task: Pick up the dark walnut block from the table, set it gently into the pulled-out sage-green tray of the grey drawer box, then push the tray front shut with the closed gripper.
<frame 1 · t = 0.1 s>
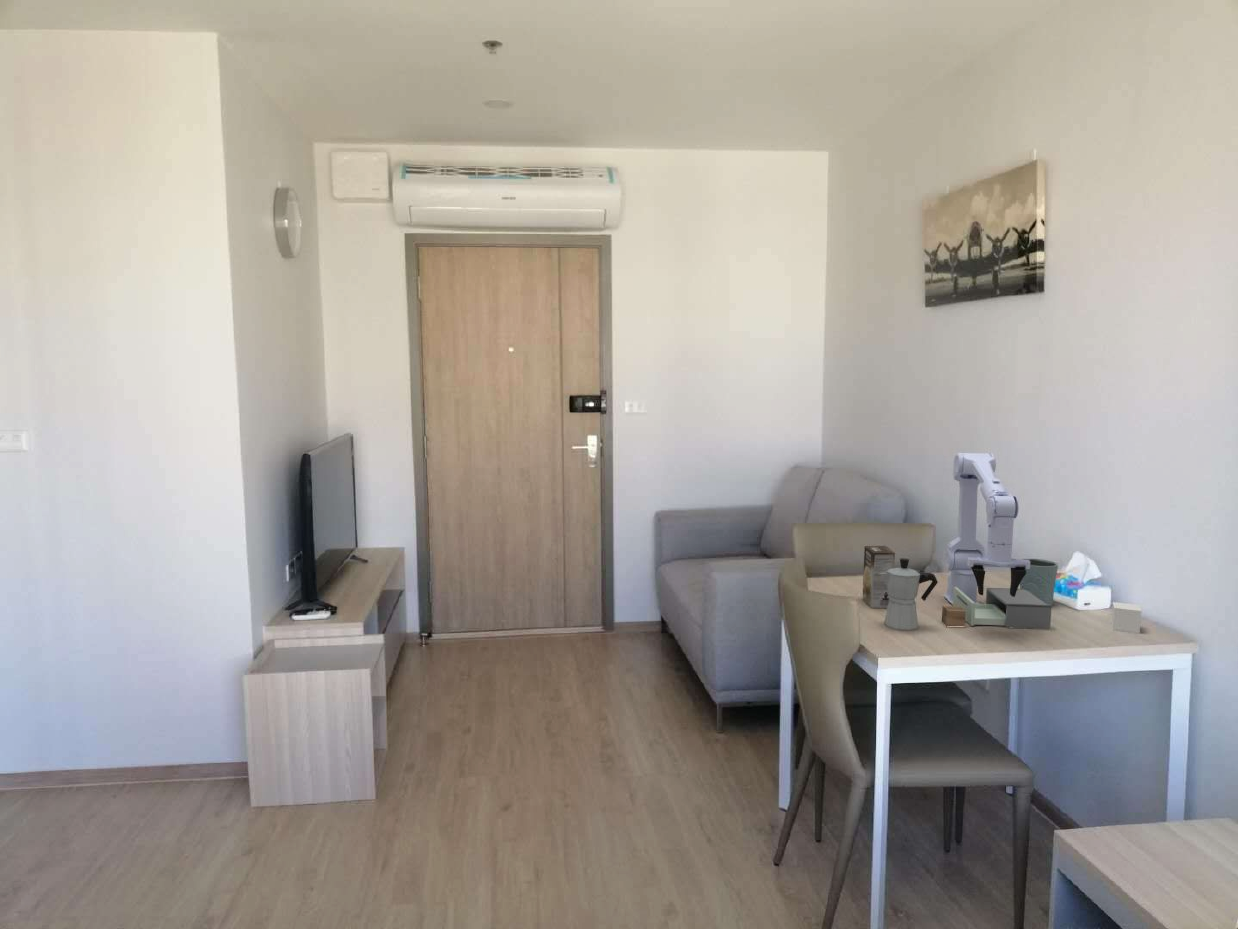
hand: (996, 594, 213), 10 cm above the table, tool pointing down, fingers open, 7 cm apart
walnut block: (953, 624, 221), on the table
beige cube: (1124, 629, 218), on the table
grey drawer box: (1014, 619, 226), on the table
coffee maker: (905, 626, 219), on the table
coffee box: (877, 604, 240), on the table
green plant pot: (1035, 603, 241), on the table
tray: (982, 606, 226), point 3 cm above the table, slide at 8.0 cm
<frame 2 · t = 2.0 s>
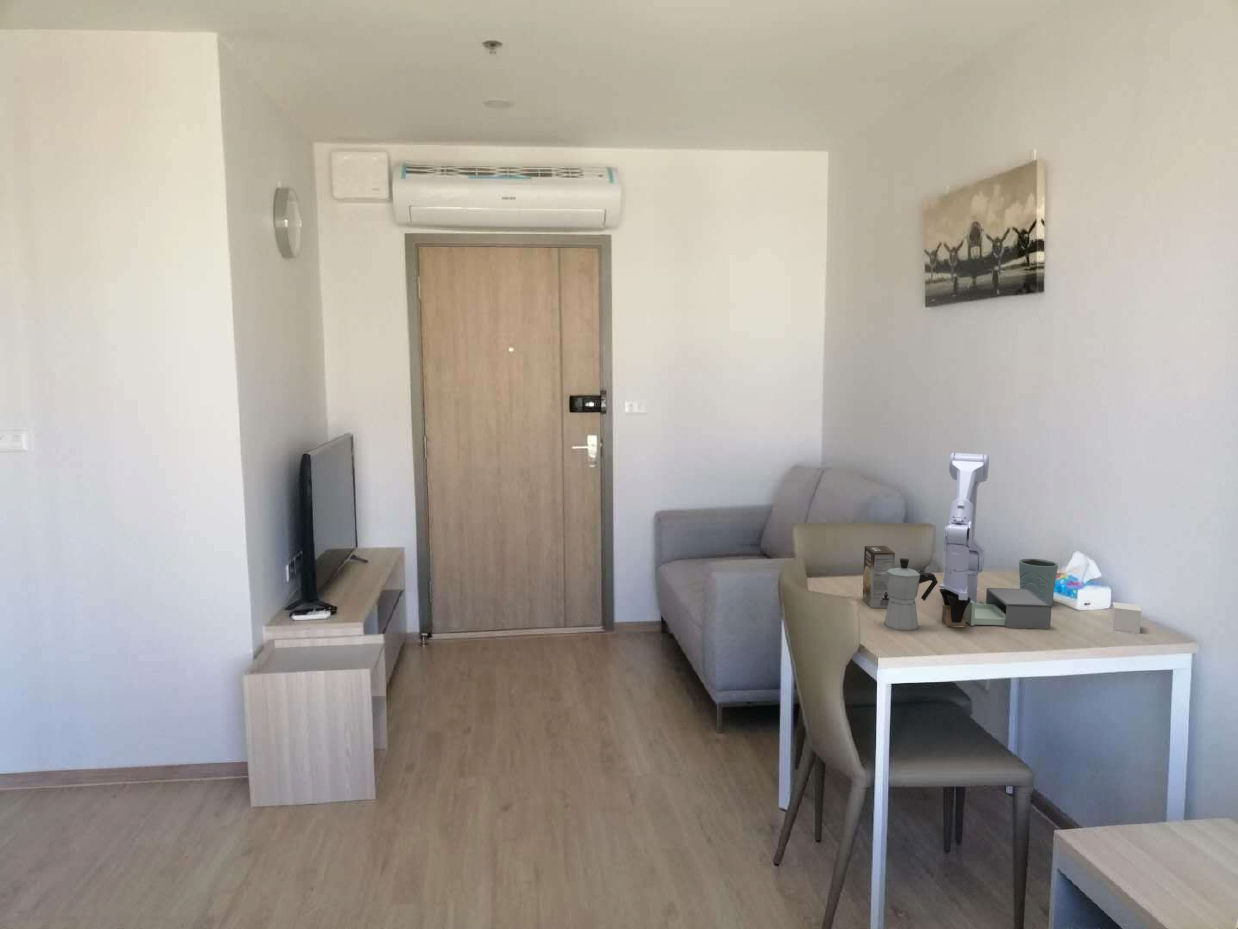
hand: (953, 619, 221), 1 cm above the table, tool pointing down, fingers closed on walnut block, 5 cm apart
walnut block: (953, 624, 221), on the table, touching gripper
everything else where it was.
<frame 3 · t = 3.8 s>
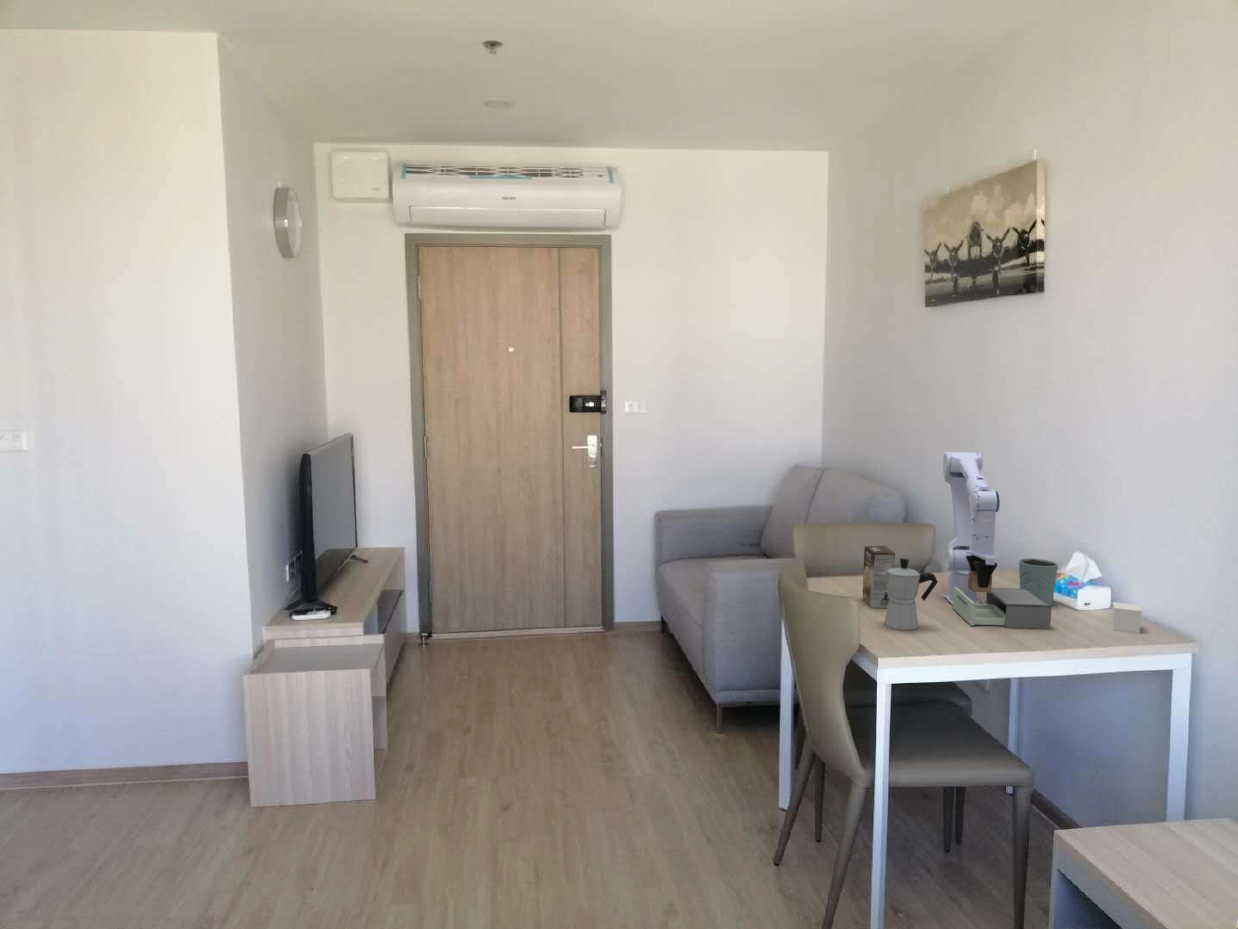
hand: (979, 584, 225), 9 cm above the table, tool pointing down, fingers closed on walnut block, 5 cm apart
walnut block: (979, 590, 225), point 8 cm above the table, touching gripper
everything else where it was.
when the fingers open (3 cm above the table, at t = 5.6 s): walnut block stays where it is, resting on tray.
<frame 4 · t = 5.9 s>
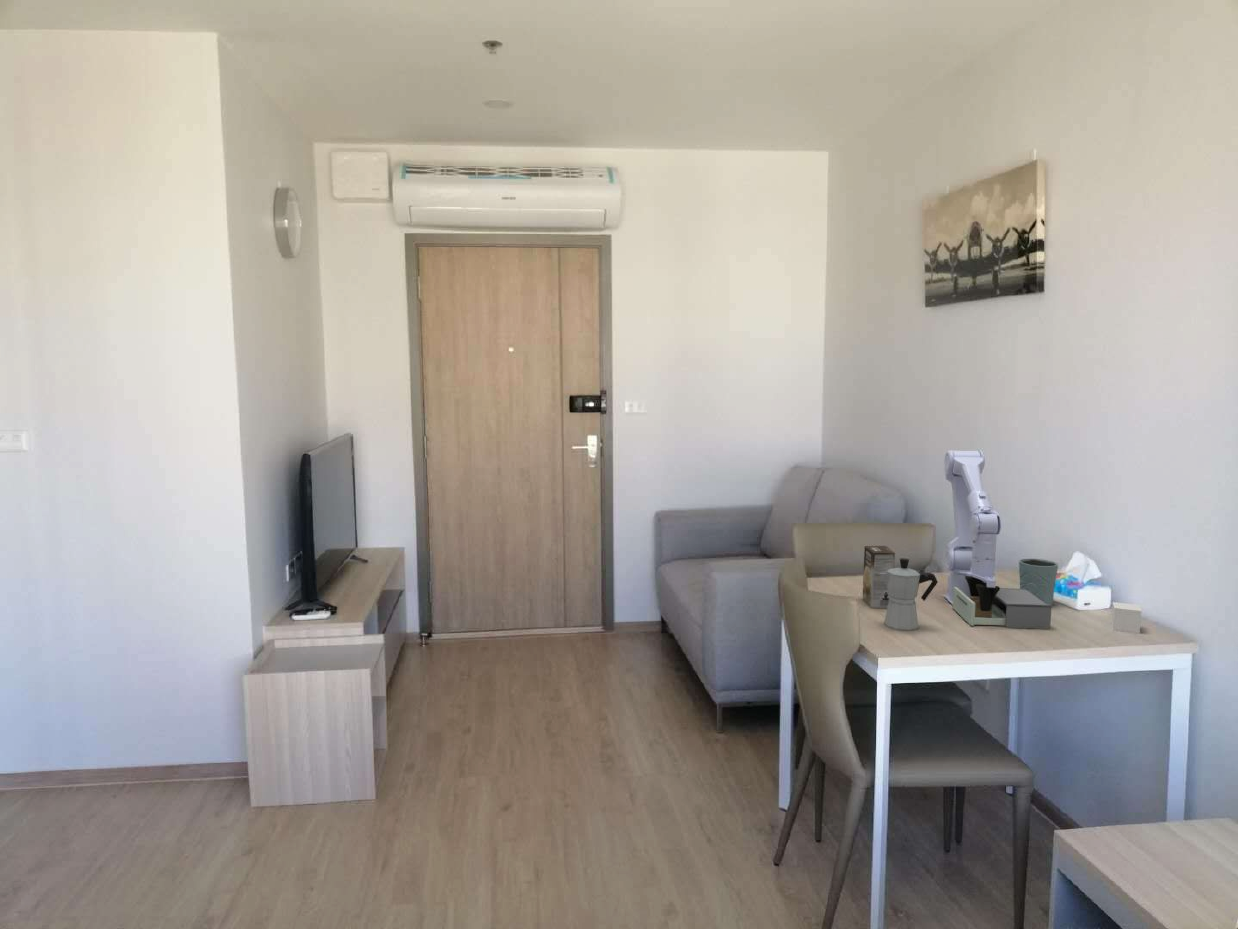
hand: (980, 606, 226), 3 cm above the table, tool pointing down, fingers open, 7 cm apart
walnut block: (979, 615, 226), point 1 cm above the table, touching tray
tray: (982, 606, 226), point 3 cm above the table, slide at 8.0 cm, touching walnut block
everything else where it was.
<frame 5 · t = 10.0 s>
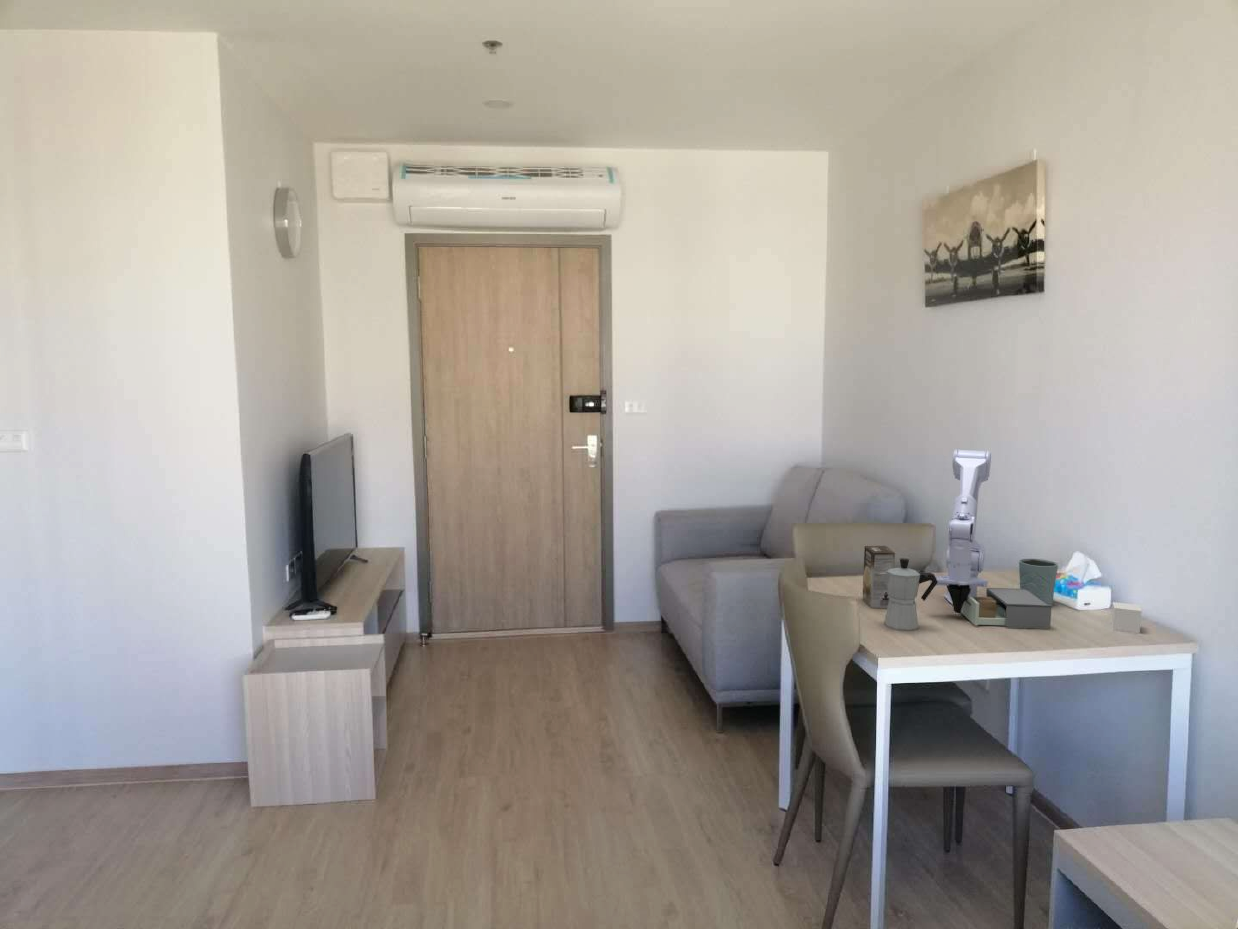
hand: (957, 611, 227), 1 cm above the table, tool pointing down, fingers closed
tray: (986, 606, 226), point 3 cm above the table, slide at 7.0 cm, touching gripper, walnut block
everything else where it was.
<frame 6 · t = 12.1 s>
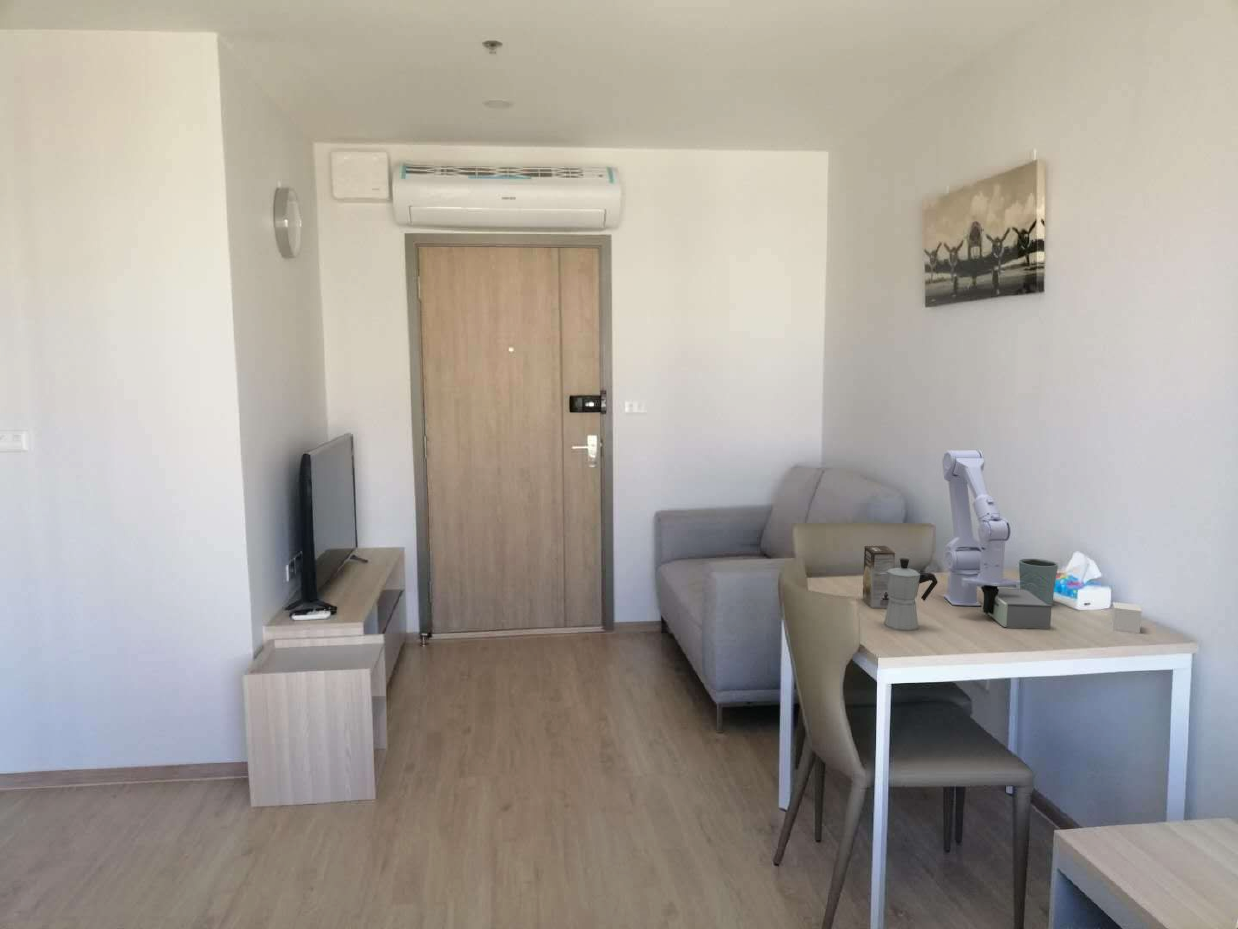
hand: (988, 612, 226), 1 cm above the table, tool pointing down, fingers closed, pressing on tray
walnut block: (1010, 616, 226), point 1 cm above the table, touching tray
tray: (1013, 607, 225), point 3 cm above the table, slide at -0.1 cm, touching gripper, grey drawer box, walnut block
everything else where it was.
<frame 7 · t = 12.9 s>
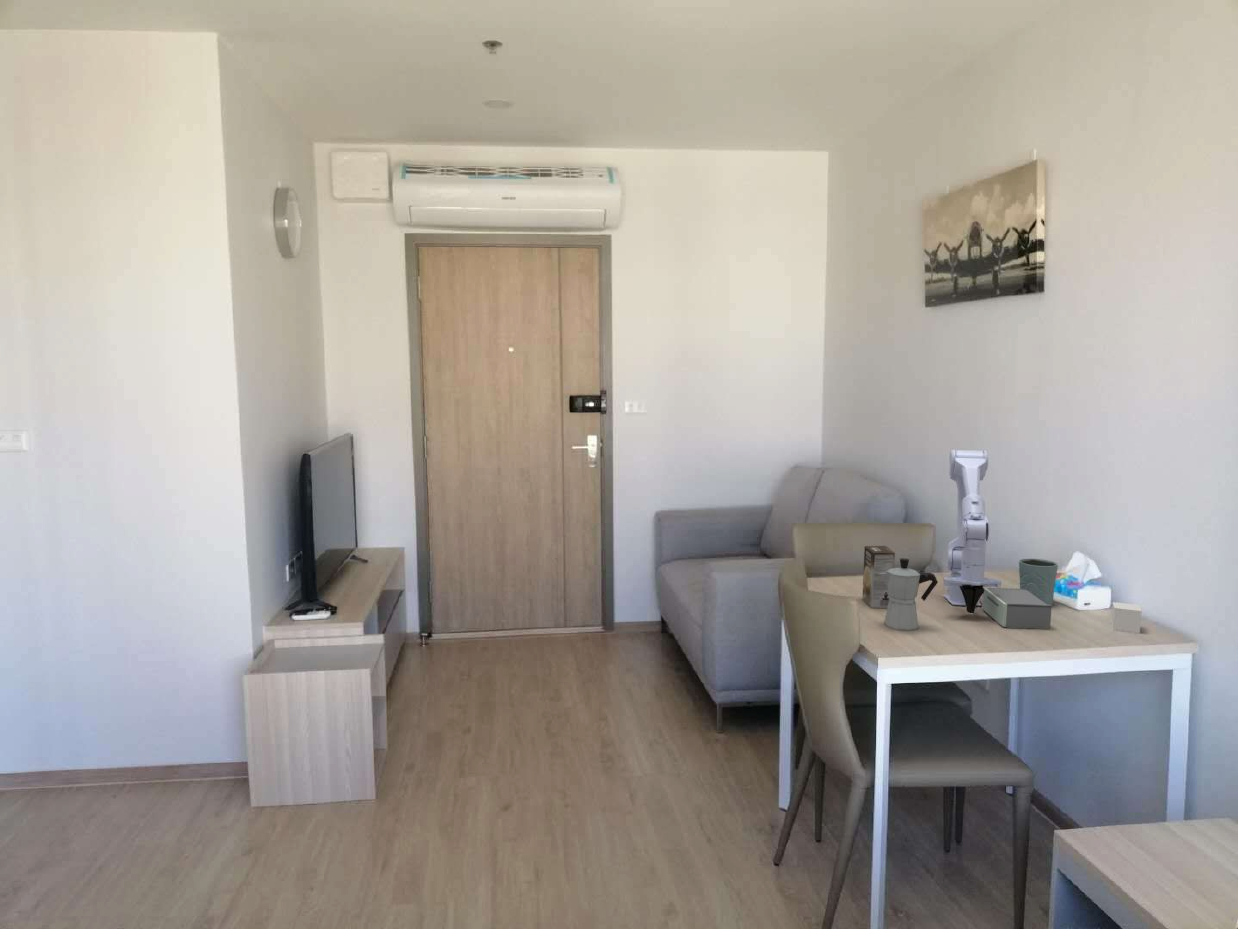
hand: (970, 612, 227), 1 cm above the table, tool pointing down, fingers closed
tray: (1013, 607, 225), point 3 cm above the table, slide at 0.0 cm, touching walnut block
everything else where it was.
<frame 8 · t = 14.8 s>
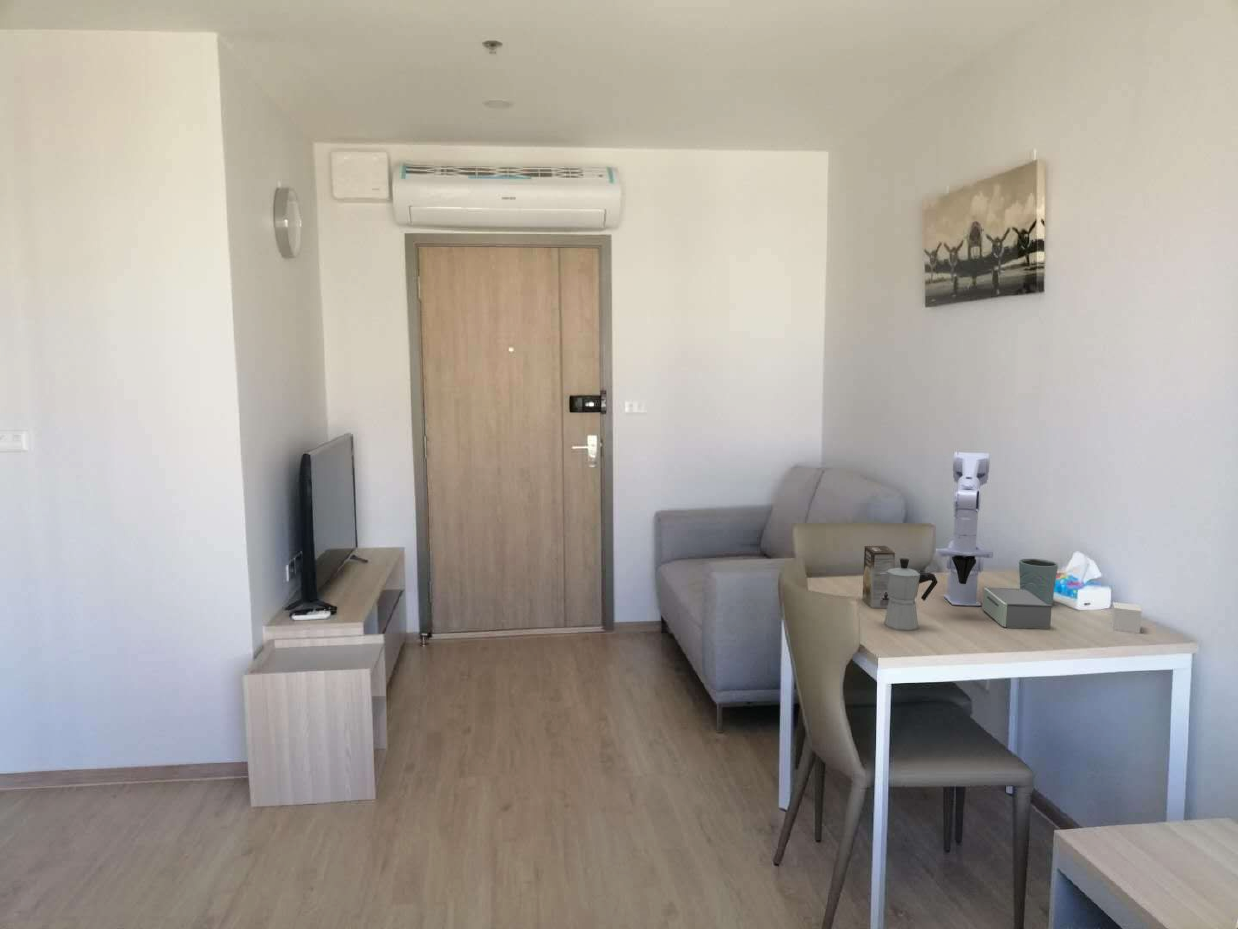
hand: (962, 583, 226), 9 cm above the table, tool pointing down, fingers closed
nothing on the table moved.
at the end: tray slide at 0.0 cm; walnut block inside the target area on the grey drawer box (1.9 cm from its centre), point 0.8 cm above the grey drawer box's base; walnut block tilted 0° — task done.
